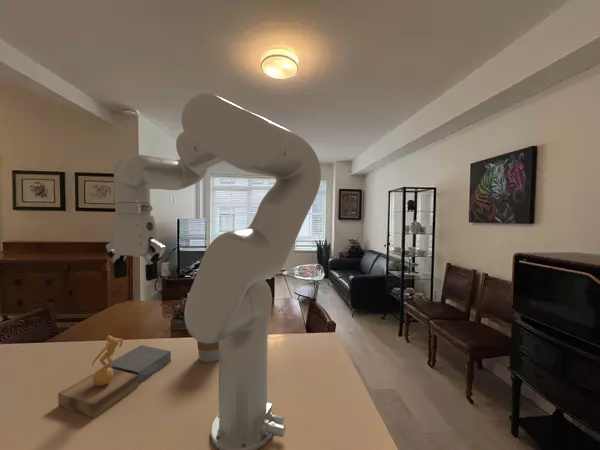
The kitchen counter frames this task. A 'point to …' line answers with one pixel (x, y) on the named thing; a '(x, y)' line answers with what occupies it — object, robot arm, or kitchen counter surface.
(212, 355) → the coffee cup
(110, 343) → the figurine
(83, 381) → the walnut stand
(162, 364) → the grey metal stand
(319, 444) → the kitchen counter surface
